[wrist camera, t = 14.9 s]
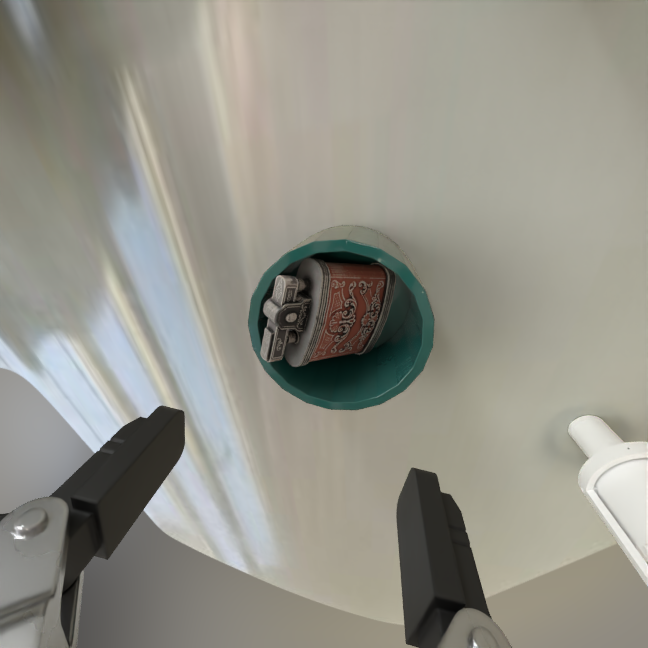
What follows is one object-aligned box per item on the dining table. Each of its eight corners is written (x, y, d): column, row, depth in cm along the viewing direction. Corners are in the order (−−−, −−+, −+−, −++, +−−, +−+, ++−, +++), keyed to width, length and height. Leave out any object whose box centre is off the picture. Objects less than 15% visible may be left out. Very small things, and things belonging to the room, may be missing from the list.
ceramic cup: (291, 355, 32) (264, 408, 24) (273, 230, 27) (232, 247, 19) (415, 354, 30) (430, 412, 22) (419, 219, 25) (438, 232, 17)
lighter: (372, 257, 26) (265, 248, 20) (403, 271, 24) (294, 266, 17) (346, 341, 29) (248, 356, 23) (372, 360, 27) (269, 383, 21)
